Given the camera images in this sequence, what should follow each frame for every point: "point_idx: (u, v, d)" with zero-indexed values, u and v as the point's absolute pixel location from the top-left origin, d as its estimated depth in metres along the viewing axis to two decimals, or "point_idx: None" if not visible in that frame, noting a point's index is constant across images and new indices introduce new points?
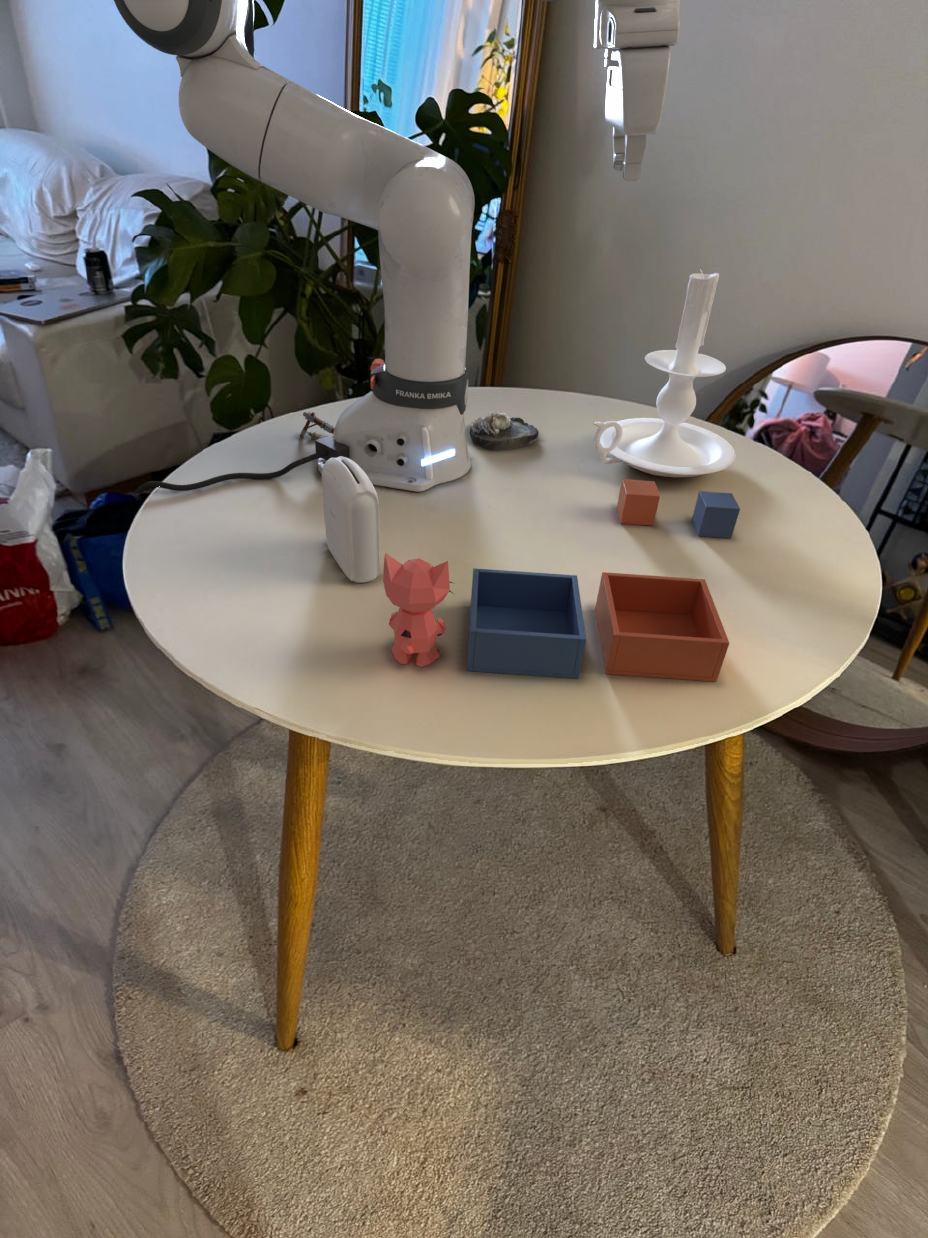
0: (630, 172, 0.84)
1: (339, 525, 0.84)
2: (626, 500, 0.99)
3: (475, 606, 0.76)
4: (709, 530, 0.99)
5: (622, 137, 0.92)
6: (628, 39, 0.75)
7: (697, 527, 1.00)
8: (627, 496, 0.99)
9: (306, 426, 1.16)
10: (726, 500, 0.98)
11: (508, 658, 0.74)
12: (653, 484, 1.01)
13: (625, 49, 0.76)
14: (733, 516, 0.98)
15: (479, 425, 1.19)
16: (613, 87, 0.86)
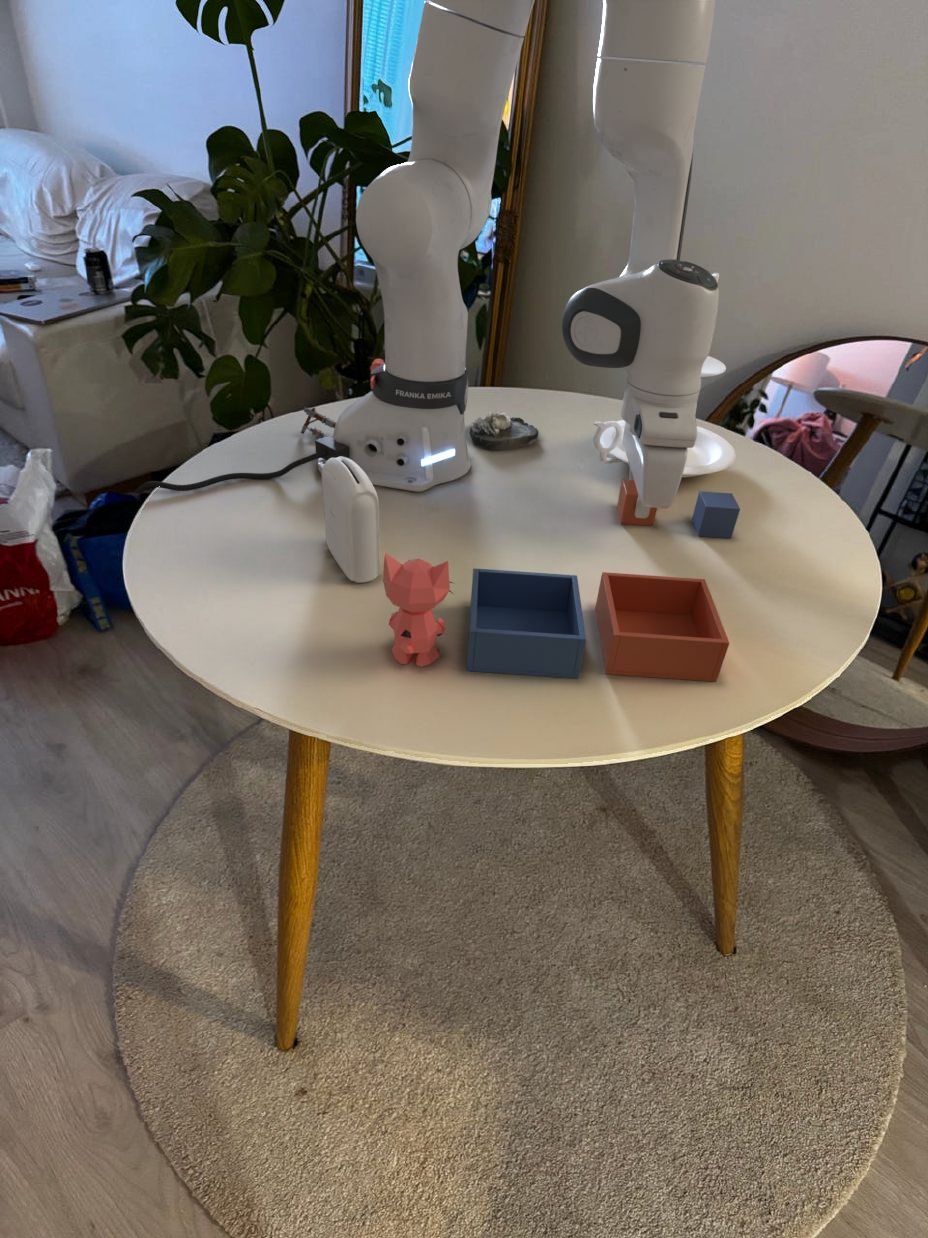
0: (640, 512, 0.98)
1: (339, 525, 0.84)
2: (626, 500, 0.99)
3: (475, 606, 0.76)
4: (709, 530, 0.99)
5: None
6: (652, 442, 0.87)
7: (697, 527, 1.00)
8: (627, 496, 0.99)
9: (307, 422, 1.17)
10: (726, 500, 0.98)
11: (508, 658, 0.74)
12: None
13: (649, 445, 0.88)
14: (733, 516, 0.98)
15: (479, 425, 1.19)
16: (633, 438, 0.99)
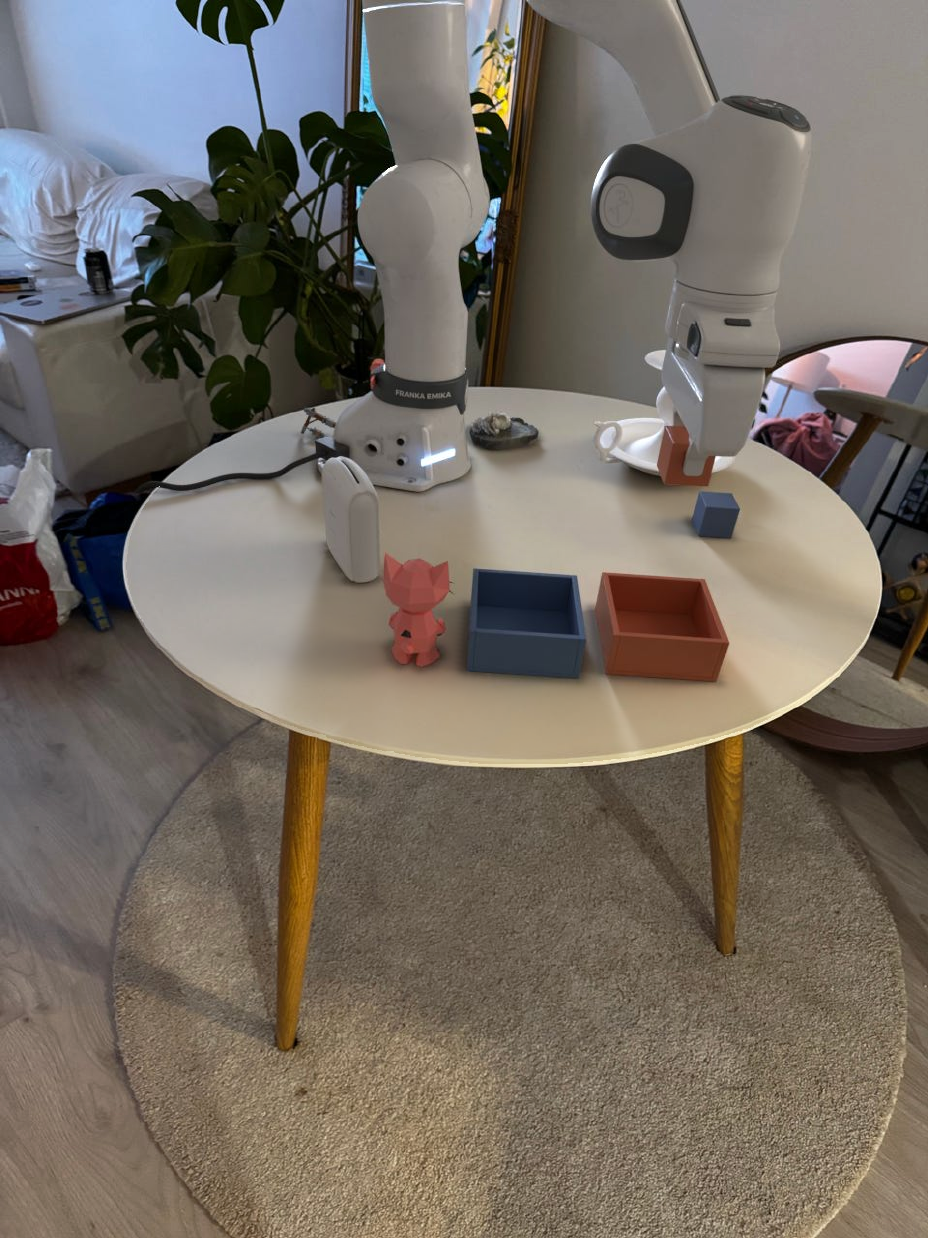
0: (691, 467, 0.73)
1: (339, 525, 0.84)
2: (672, 452, 0.73)
3: (475, 606, 0.76)
4: (709, 530, 0.99)
5: None
6: (717, 359, 0.61)
7: (697, 527, 1.00)
8: (674, 446, 0.73)
9: (307, 422, 1.17)
10: (726, 500, 0.98)
11: (508, 658, 0.74)
12: None
13: (710, 366, 0.62)
14: (733, 516, 0.98)
15: (479, 425, 1.19)
16: (680, 367, 0.73)
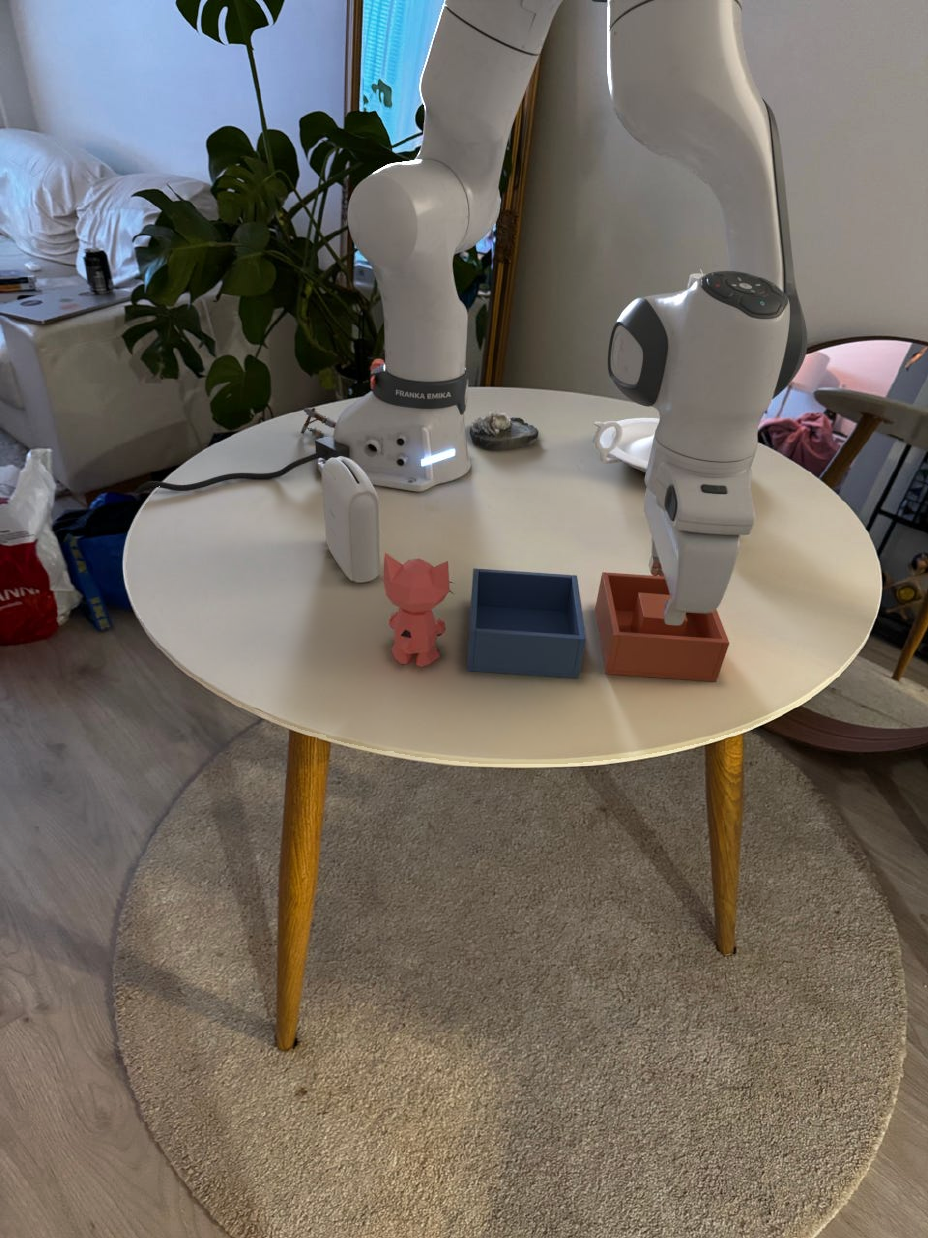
0: (672, 618, 0.72)
1: (339, 525, 0.84)
2: (643, 624, 0.76)
3: (475, 606, 0.76)
4: None
5: None
6: (692, 528, 0.62)
7: None
8: (644, 619, 0.76)
9: (307, 422, 1.17)
10: None
11: (508, 658, 0.74)
12: None
13: (686, 531, 0.63)
14: None
15: (479, 425, 1.19)
16: (660, 509, 0.74)
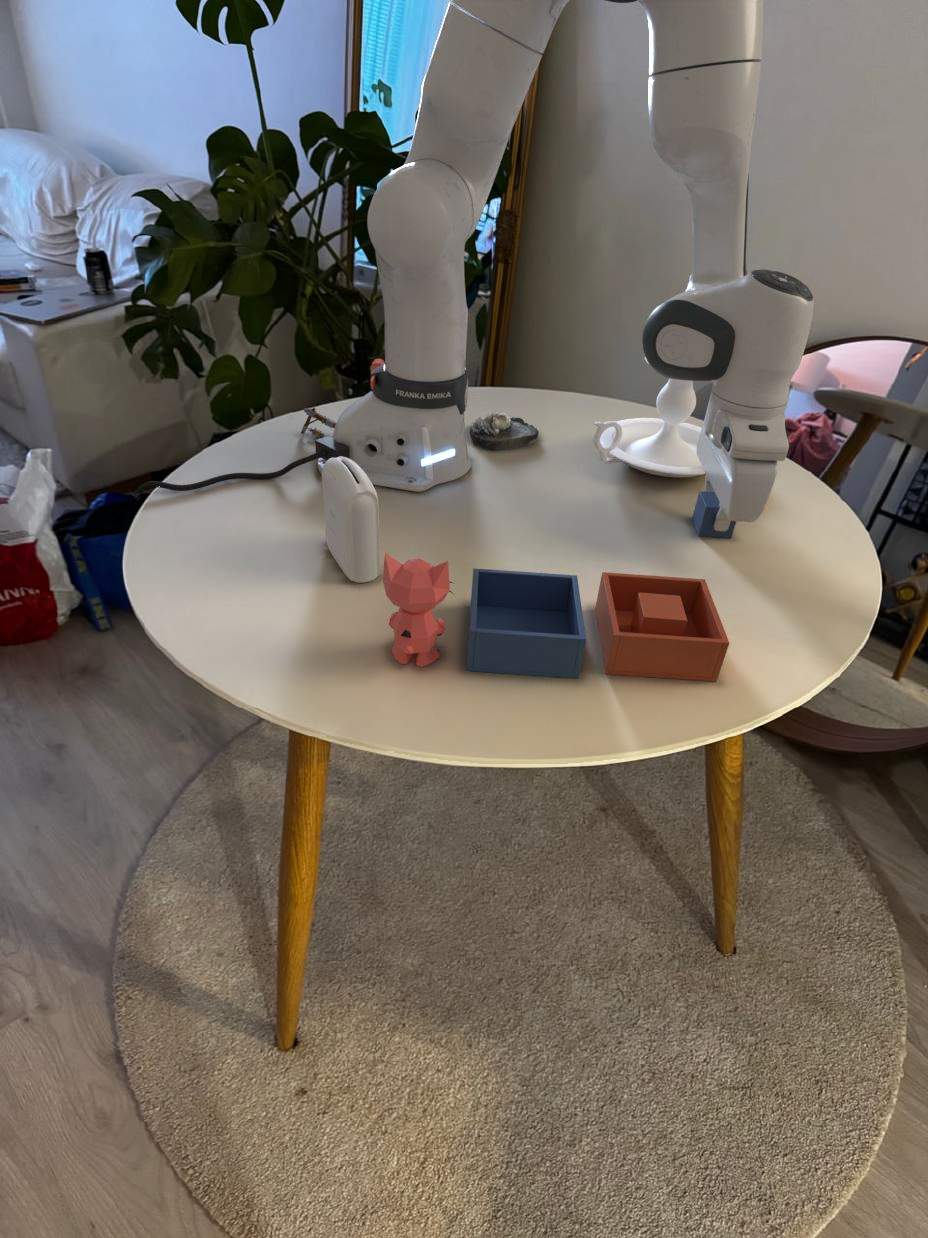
0: (720, 525, 0.97)
1: (339, 525, 0.84)
2: (643, 624, 0.76)
3: (475, 606, 0.76)
4: (709, 530, 0.99)
5: None
6: (743, 455, 0.86)
7: (697, 527, 1.00)
8: (644, 619, 0.76)
9: (307, 422, 1.17)
10: None
11: (508, 658, 0.74)
12: (678, 601, 0.78)
13: (738, 459, 0.87)
14: None
15: (479, 425, 1.19)
16: (713, 449, 0.97)
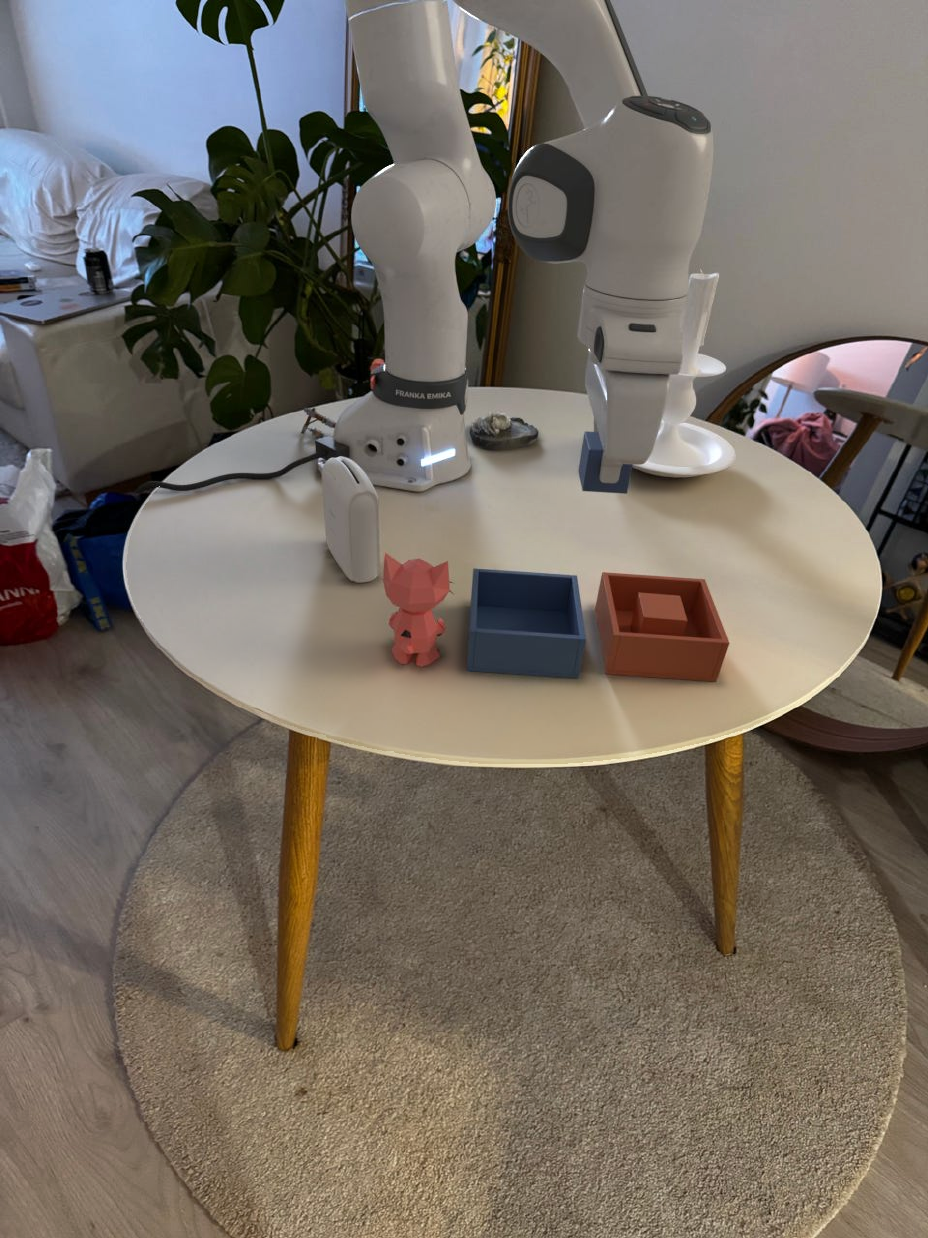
0: (607, 474, 0.71)
1: (339, 525, 0.84)
2: (643, 624, 0.76)
3: (475, 606, 0.76)
4: (596, 483, 0.73)
5: None
6: (619, 366, 0.60)
7: (582, 479, 0.74)
8: (644, 619, 0.76)
9: (307, 422, 1.17)
10: None
11: (508, 658, 0.74)
12: (678, 601, 0.78)
13: (615, 372, 0.61)
14: None
15: (479, 425, 1.19)
16: (597, 372, 0.71)
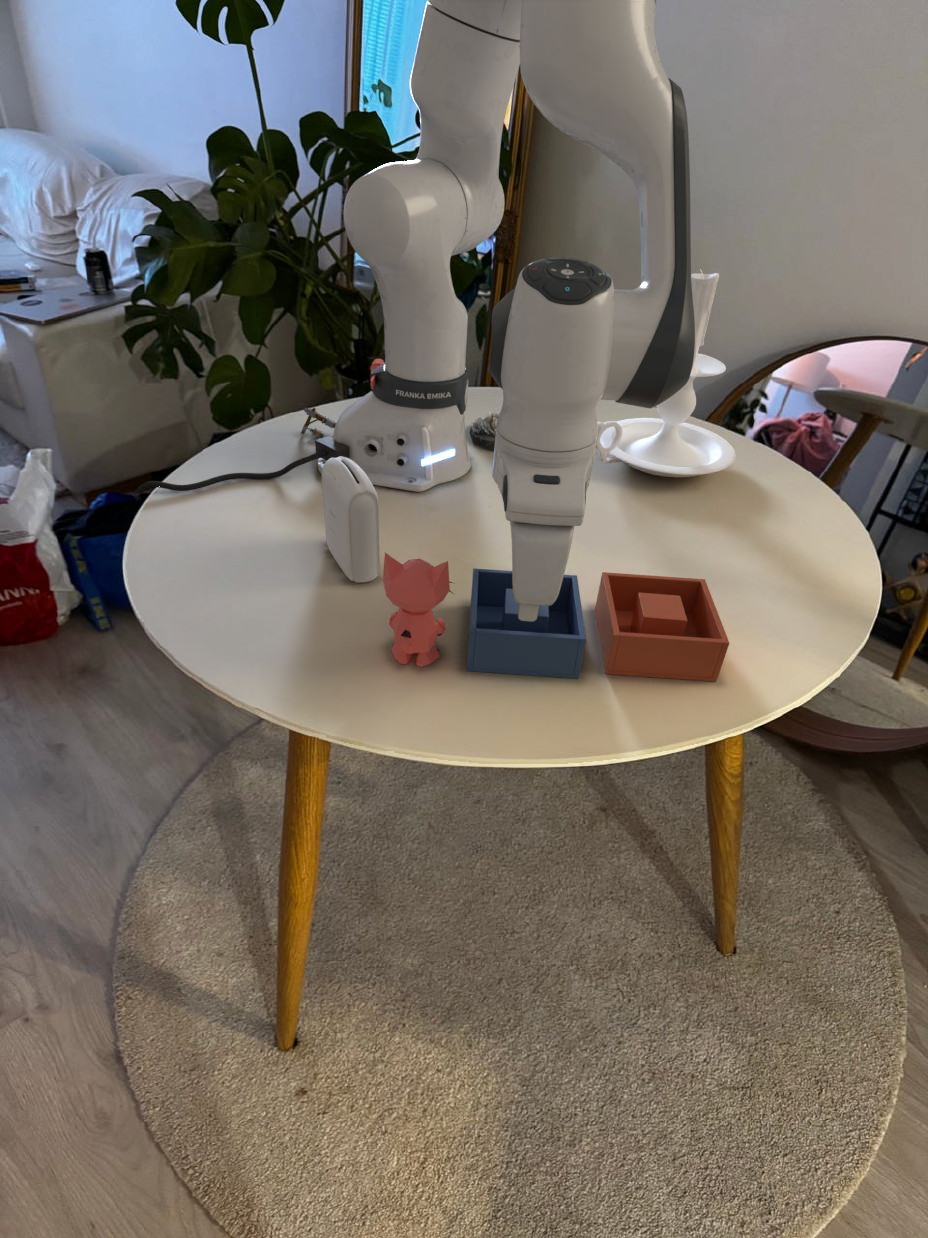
0: (525, 614, 0.71)
1: (339, 525, 0.84)
2: (643, 624, 0.76)
3: (475, 606, 0.76)
4: None
5: None
6: (521, 518, 0.61)
7: None
8: (644, 619, 0.76)
9: (307, 422, 1.17)
10: None
11: (508, 658, 0.74)
12: (678, 601, 0.78)
13: (519, 522, 0.62)
14: (541, 625, 0.76)
15: (479, 425, 1.19)
16: None
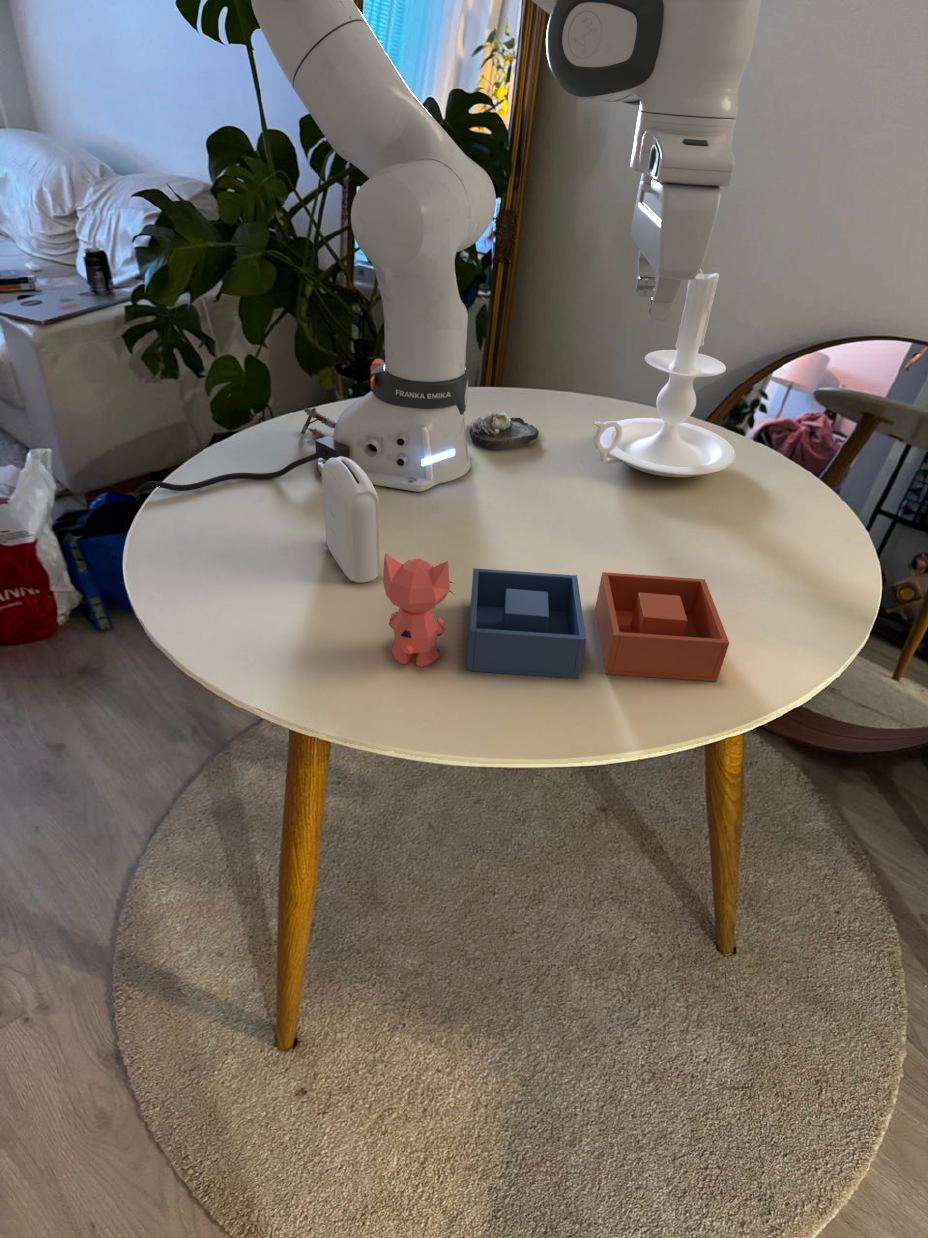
0: (658, 311, 0.74)
1: (339, 525, 0.84)
2: (643, 624, 0.76)
3: (475, 606, 0.76)
4: None
5: None
6: (674, 175, 0.64)
7: None
8: (644, 619, 0.76)
9: (307, 422, 1.17)
10: (535, 604, 0.77)
11: (508, 658, 0.74)
12: (678, 601, 0.78)
13: (669, 184, 0.66)
14: (541, 625, 0.76)
15: (479, 425, 1.19)
16: (646, 210, 0.76)
